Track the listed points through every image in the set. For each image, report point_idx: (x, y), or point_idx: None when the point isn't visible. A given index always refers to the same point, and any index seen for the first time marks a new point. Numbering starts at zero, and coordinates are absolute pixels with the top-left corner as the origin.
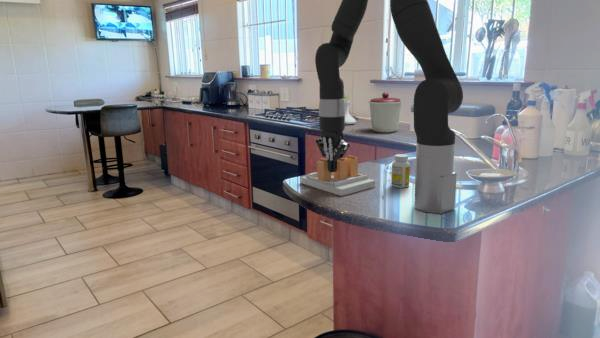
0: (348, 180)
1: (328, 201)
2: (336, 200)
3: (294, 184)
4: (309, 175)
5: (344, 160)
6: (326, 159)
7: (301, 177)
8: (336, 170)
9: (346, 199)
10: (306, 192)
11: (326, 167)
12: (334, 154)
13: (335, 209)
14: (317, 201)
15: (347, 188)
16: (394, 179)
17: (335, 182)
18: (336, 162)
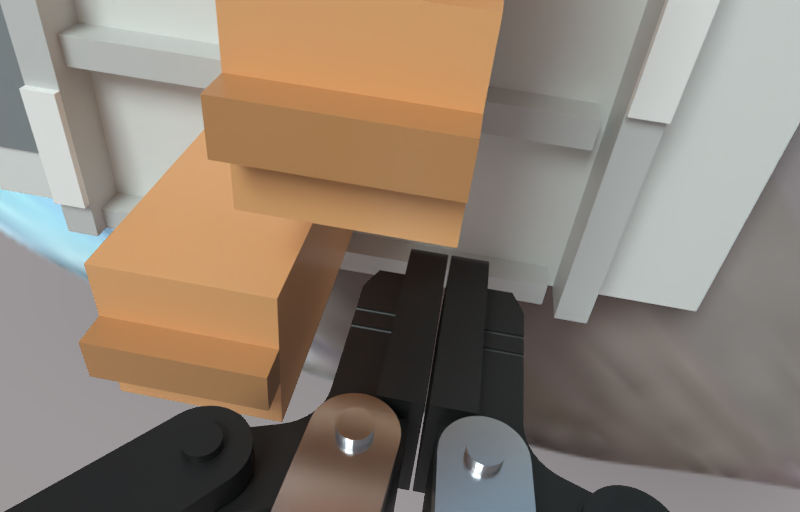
0: (668, 113)
1: (649, 403)
2: (699, 364)
3: (57, 220)
4: (95, 213)
5: (480, 119)
6: (234, 383)
7: (8, 188)
8: (488, 269)
9: (779, 310)
10: (337, 328)
11: (307, 308)
12: (384, 489)
13: (794, 488)
14: (570, 430)
15: (733, 233)
16: None
17: (573, 296)
18: (516, 417)
